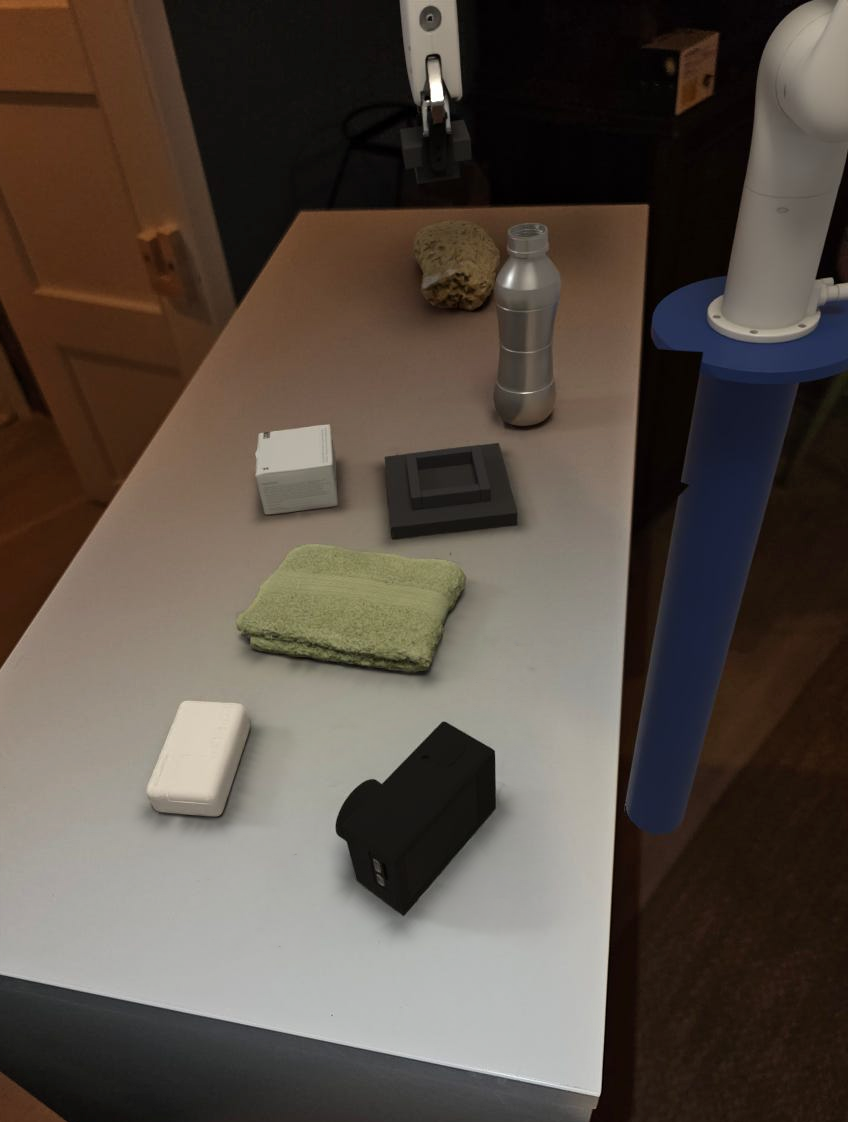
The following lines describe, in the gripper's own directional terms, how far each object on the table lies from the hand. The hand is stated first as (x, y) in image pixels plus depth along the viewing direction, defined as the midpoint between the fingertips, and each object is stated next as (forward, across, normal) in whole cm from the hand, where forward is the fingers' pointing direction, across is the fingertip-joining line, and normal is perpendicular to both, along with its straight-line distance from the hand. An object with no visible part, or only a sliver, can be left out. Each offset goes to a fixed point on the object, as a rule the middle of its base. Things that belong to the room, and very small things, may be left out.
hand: (436, 162), depth 94 cm
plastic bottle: (+21, -19, -7) cm, 29 cm away
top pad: (+1, 0, 0) cm, 1 cm away
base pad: (+21, -32, +3) cm, 38 cm away
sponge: (+21, +18, -3) cm, 28 cm away
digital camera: (+21, -70, +8) cm, 74 cm away
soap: (+21, -63, +24) cm, 71 cm away
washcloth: (+21, -48, +13) cm, 54 cm away
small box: (+21, -28, +18) cm, 39 cm away
